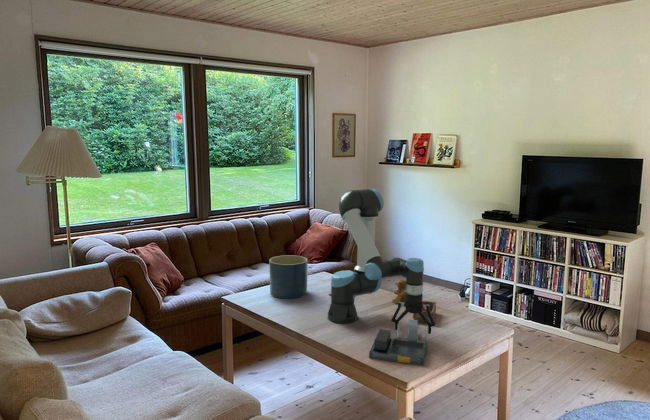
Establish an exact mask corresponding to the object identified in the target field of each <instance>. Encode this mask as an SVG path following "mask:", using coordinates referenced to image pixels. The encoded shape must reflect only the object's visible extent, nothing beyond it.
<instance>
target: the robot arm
mask: <svg viewBox="0 0 650 420" xmlns="http://www.w3.org/2000/svg"><path fill="white" fill-rule="evenodd" d="M383 208H384V198H383V196H382V194H381V192H380V191H379V190H377V189H374V188H365V189H350V190H348V191H345V192H344V193H343V194H342V195H341V197H340V199H339V202H338V211H339V215H340V217H341V220H342V221H344V222H345V223H346V224H347V227H348V229H349V232H350V233H351V235H352V237H353V239H354V242H355V243H356V246H357V259H356V260H357V264H356V265H355V266H354V268H353V270H340V271H336V272H334V273H333V274H332V276H331V280H330V281H331V282H330V286H331V288H330V294H331V296H330V299H331V301H330V305H329V308H328V311H327V320H329V321H330V322H333V323H337V324H349V323H354V322H356V321H357V320H358V310H357V308H356V304H355V297H357V296H363V295H370V294H372V293H376V292H378V291H379V289H380V288H381V286H382V279H385V278H393V277H397V276H400V277H403V278H405V281H406V299H405V303H402V302H401V301H400V302H399V303H398V304H397V308H396V310H395V312H394V314H393V315H392V318H391V320H390V322H392V323H394V330H395V331H396V339H400V335H401V333H400V332H401V322H400V321H401V320H402V319H403V318H404V317H405V316H406V315H407V314H408V313H409V314H413V313H415V314H417V313H418V314H419V315H420V316H421V317H422V319H423V320H424V321H425V323H426V331H425V332H426V336H425V337H426V338H425V342H429V335H431V333H432V328H433V327H435V326H436V321H435V319H434V318H433V316H432V313H431V311H430V306H429V304H427V305H423V303H422V301H423V292H424V270H425V268H424V267H425V266H424V260H423V259H422V258H417V257H409V258H407V259H403V258H402V257H401V258H400V257H397V256H392V257H391V258H390V259H388V260H383V258H382V257H381V254H380V252H379V250H378V248H377V246H376V243H375V241H376V239H375V238H376V219H377V218H378V217H379V212H381V211H382V210H383ZM403 306H404V308H405V309H404V310H403V311H402V313H401V314H400V315H399V312H400V311H401V308H403ZM422 308H425V310H426V311H427V314H428V316H429V318H430V321H431V323H430V321H429V320H428V319H427V317H426V316H425V314H424V313H423V311H422V310H421V309H422ZM398 315H399V316H398ZM397 316H398V317H397ZM425 323H424V324H425Z"/></svg>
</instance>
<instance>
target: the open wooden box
mask: <svg viewBox="0 0 650 420" xmlns="http://www.w3.org/2000/svg"><path fill="white" fill-rule="evenodd" d="M422 303H424V305H427V304H429V306H430V311H431V313H432V316H433V318H434V320H435V318H436V317H435V314H436V312H437V311H436V310H437V302H436V301H428V300H422ZM423 313H424V314H425V316H426V317H427V319H428V320H429V321H430V318H429V316H428V314H427V311H426V310H425V311H423ZM436 315H437V314H436ZM413 320H417V323H418V324H426V323H425V321H424V320H423V319H422V317H421V316H420V315H419V314H418V313H417V314H415V313H414V318H413ZM430 323H431V321H430ZM426 325H427V324H426Z"/></svg>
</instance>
